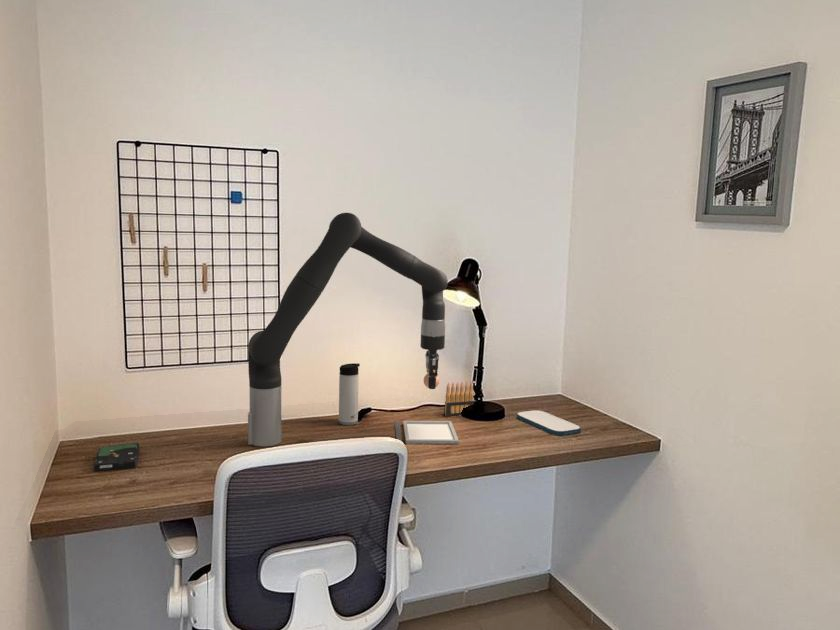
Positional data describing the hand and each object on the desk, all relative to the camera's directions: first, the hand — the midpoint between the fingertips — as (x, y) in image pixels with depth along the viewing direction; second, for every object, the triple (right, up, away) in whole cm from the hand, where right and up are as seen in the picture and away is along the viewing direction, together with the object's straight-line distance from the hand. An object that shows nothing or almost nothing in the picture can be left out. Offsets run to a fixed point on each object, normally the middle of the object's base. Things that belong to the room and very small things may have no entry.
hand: (431, 386), depth 209 cm
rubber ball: (0, -1, 0) cm, 1 cm away
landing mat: (-2, -15, +2) cm, 16 cm away
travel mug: (-27, -13, +11) cm, 32 cm away
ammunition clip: (+10, -13, +24) cm, 29 cm away
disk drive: (-85, -18, -29) cm, 92 cm away
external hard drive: (+40, -15, +16) cm, 45 cm away
